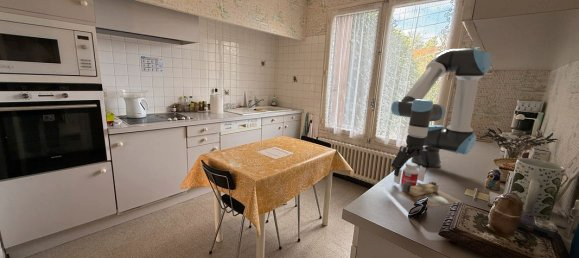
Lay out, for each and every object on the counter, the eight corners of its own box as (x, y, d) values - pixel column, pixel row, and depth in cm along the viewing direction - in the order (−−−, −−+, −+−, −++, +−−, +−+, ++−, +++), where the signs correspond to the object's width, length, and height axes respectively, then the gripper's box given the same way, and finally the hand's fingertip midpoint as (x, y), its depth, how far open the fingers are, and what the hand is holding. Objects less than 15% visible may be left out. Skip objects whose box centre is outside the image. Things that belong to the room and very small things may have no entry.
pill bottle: (400, 188, 104) (404, 164, 102) (400, 183, 110) (404, 160, 108) (416, 191, 102) (420, 167, 100) (415, 186, 107) (419, 163, 105)
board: (431, 189, 105) (433, 179, 104) (461, 205, 92) (464, 194, 91) (395, 194, 98) (396, 183, 97) (422, 211, 86) (424, 199, 85)
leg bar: (431, 188, 102) (432, 180, 101) (439, 191, 99) (441, 183, 98) (408, 192, 96) (409, 184, 95) (415, 196, 93) (417, 188, 92)
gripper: (431, 133, 108) (423, 176, 113) (387, 133, 100) (380, 180, 105) (446, 137, 101) (436, 182, 106) (400, 138, 93) (392, 187, 98)
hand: (408, 181), depth 105 cm, fingers open, 13 cm apart
